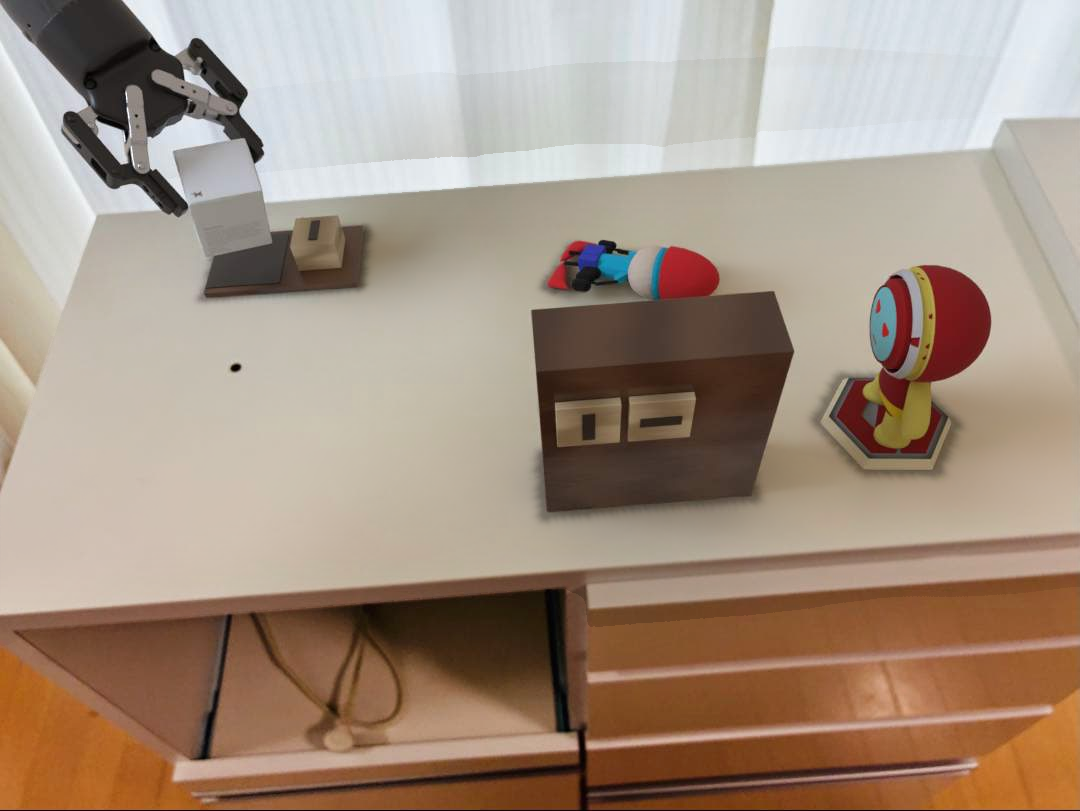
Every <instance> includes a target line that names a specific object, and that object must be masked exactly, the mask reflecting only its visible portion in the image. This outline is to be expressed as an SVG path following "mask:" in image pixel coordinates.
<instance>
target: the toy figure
mask: <svg viewBox="0 0 1080 811" xmlns="http://www.w3.org/2000/svg"><path fill="white" fill-rule="evenodd" d="M617 246H618V244H617V243H616V242H615V241H613V240H608V239H600V240H599V241H598V242H597V243H595V242H590V241H585V240H574V241H573V242H571V243H570V245H569V246H568V247H567V248H566V249H565V250H564V252H563V253H562V255H561V257H560V262H561V263H560V264H559V265H558V266H557V268H556V269H555V270H554V272H553V273H552V275H551V276H550V277H549V279H548V281H547V283H546V285H547V286H548V287H551V288H553V289H560V290H569V289H570V288H569V287H568V285H567V266H568V267H569V266H571V267H577V268H578V272H576V273H575V275H574V276H575V277H574V278H573V280H571V282H570V285H571V288H572V290H573V291H574V292H580V293H588V292H589V291H591V288H592V285H595V286H596V287H597V286H608V285H616V284H617V285H621V284H622V283H624V282H629V285H630V287H631V289H632V290H633V291H634V292H635V293H636V294H637V295H639V296H641V297H643V298H653V300H663V299H676V298H689V297H702V296H712V294H714V292H715V291H716V290H717V289H718V287H719V285H720V282H721V281H720V280H721V277H720V273H719V271H718V268H717V267H716V266H715V264H714V263H713V262H712V261H711V260H710V259H708V258H707V257H706V256H704V255H703V254H700V253H698V252H696V251H694V250H691V249H687V248H684V247H679V246H674V245H670V246H669V247H664V246H661V245H648V246H645V247H643V248H642V249H640V250H639V251H637V250H627V249H623V248H617ZM613 252H616V253H617V254H613ZM576 256H578V257H577V261H569V260H570V259H572V258H574V257H576ZM600 278H605V279H611V280H603V281H601V280H600V281H596V280H599V279H600Z"/></svg>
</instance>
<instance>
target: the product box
mask: <svg viewBox="0 0 1080 811" xmlns="http://www.w3.org/2000/svg"><path fill="white" fill-rule="evenodd" d="M172 155H173V158H174V162H175V165H176V166H175V167H176V169H177V172H178V176H179V179H180V183H181V186H182V190H183V193H184V197H185V201H186V202H187V204H188V207H189V208H188V211H189V213H190V217H191V219H192V220H191V221H192V223H193V227H194V229H195V233H196V236H197V239H198V241H199V245H200V247H201V250H202V253H203V256H204V257H205V258H210V257H214V256H216V255H221V254H226V253H230V252H235V251H239V250H244V249H248V248H253V247H257V246H262V245H267V244H271V243H272V237H271V233H270V232H271V229H270V223H269V219H268V214H267V210H266V204H265V198H264V192H263V187H262V184H261V180H260V178H259V174H258V171H257V168H256V164H254V162H253V159H252V156H251V153H250V150H249V147H248V145H247V142H246V140H245V139H244V138H241V139H234V140H230V139H228V140H224V141H219V142H215V143H214V142H212V143H208V144H202V145H197V146H191V147H185V148H180V149H175V150H172Z"/></svg>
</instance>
